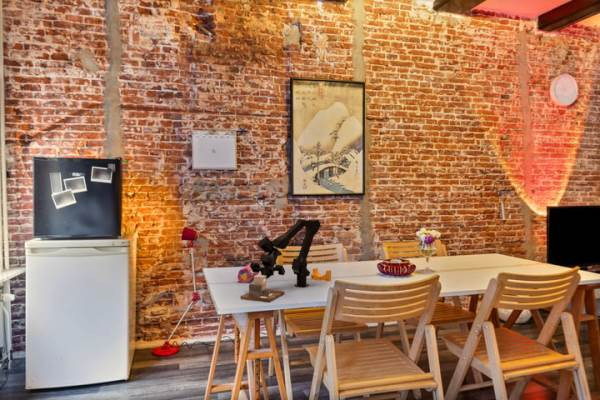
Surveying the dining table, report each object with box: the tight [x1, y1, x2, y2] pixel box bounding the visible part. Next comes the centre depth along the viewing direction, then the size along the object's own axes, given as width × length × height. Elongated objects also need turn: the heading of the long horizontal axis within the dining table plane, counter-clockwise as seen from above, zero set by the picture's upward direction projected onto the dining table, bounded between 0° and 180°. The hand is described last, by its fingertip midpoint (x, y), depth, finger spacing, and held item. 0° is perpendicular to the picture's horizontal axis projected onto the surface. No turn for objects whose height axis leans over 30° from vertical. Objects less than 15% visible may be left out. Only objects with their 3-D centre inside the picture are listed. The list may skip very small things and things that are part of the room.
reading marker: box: [262, 285, 270, 296], centre depth 217 cm, size 2×3×4 cm, turn 68°
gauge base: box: [240, 283, 285, 303], centre depth 223 cm, size 18×16×8 cm
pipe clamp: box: [310, 267, 332, 282], centre depth 265 cm, size 12×4×6 cm, turn 52°
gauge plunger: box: [253, 274, 270, 295], centre depth 221 cm, size 4×8×9 cm, turn 68°
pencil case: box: [237, 262, 260, 284], centre depth 263 cm, size 22×9×9 cm, turn 173°
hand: (262, 282), depth 224 cm, fingers closed, pressing on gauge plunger
